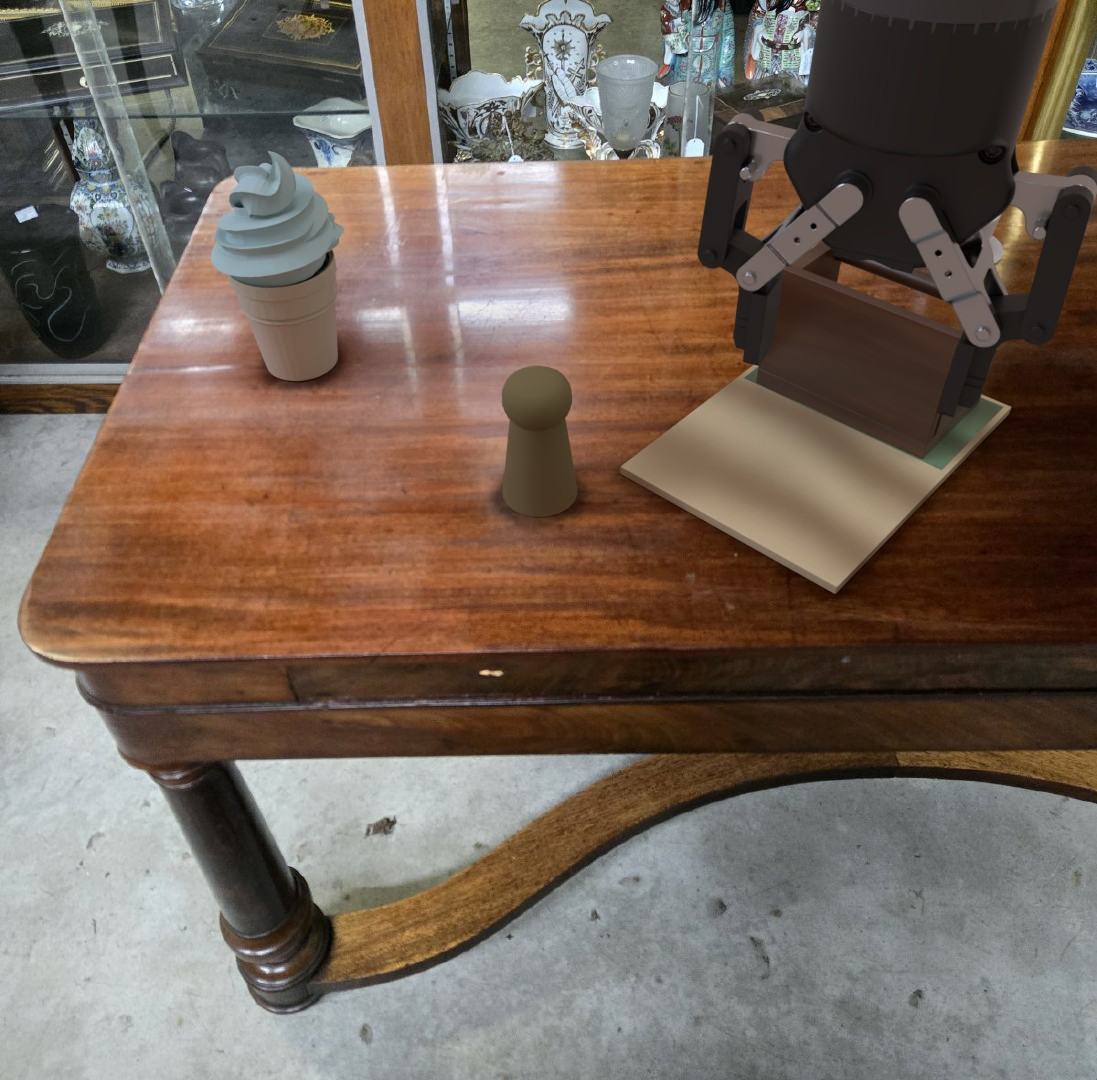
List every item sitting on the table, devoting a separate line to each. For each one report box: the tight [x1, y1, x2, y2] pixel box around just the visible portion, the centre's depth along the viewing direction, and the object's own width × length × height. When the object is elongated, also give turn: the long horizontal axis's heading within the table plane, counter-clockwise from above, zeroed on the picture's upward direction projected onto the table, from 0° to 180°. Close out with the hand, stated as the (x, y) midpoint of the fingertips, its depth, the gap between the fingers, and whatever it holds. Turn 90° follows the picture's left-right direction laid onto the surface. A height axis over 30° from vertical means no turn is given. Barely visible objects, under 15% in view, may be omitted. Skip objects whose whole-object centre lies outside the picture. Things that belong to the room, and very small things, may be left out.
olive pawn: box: [501, 365, 579, 518], centre depth 79 cm, size 6×6×11 cm
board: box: [619, 364, 1012, 595], centre depth 86 cm, size 28×20×1 cm
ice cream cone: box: [210, 150, 345, 382], centre depth 89 cm, size 10×11×20 cm
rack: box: [756, 240, 984, 459], centre depth 86 cm, size 10×16×12 cm, turn 48°
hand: (849, 379), depth 45 cm, fingers open, 8 cm apart
